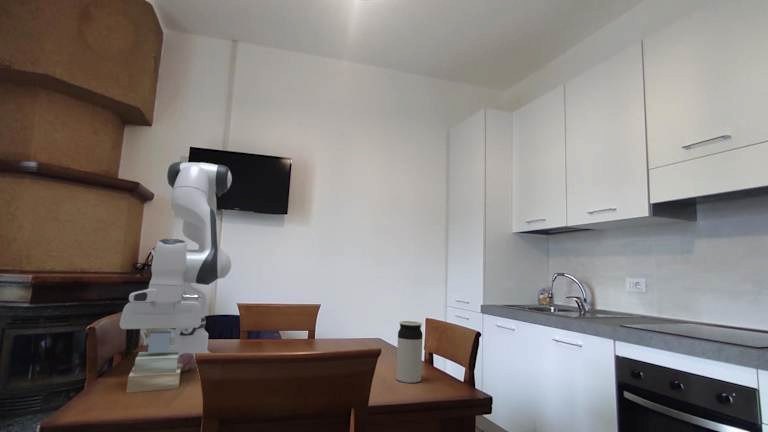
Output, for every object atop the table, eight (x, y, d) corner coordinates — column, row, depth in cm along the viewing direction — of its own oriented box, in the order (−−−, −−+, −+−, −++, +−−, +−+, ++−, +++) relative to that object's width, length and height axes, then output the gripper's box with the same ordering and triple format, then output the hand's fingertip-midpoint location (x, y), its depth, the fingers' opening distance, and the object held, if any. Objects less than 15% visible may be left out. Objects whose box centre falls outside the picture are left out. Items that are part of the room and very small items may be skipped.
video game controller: (169, 381, 117) (181, 360, 118) (158, 373, 118) (170, 352, 119) (191, 373, 127) (202, 354, 127) (181, 366, 128) (192, 347, 128)
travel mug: (412, 385, 120) (414, 324, 123) (391, 379, 125) (393, 321, 127) (425, 380, 126) (427, 322, 129) (405, 375, 131) (407, 320, 134)
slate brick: (149, 349, 111) (151, 331, 112) (169, 348, 114) (171, 330, 114) (147, 352, 107) (150, 333, 108) (168, 351, 109) (170, 333, 110)
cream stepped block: (131, 380, 112) (135, 351, 113) (179, 377, 117) (182, 349, 118) (126, 392, 101) (130, 360, 102) (178, 388, 106) (181, 357, 107)
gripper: (204, 294, 120) (199, 341, 118) (125, 293, 111) (118, 344, 109) (205, 296, 114) (200, 345, 112) (122, 295, 105) (115, 348, 103)
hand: (159, 344), depth 111 cm, fingers closed on slate brick, 5 cm apart
